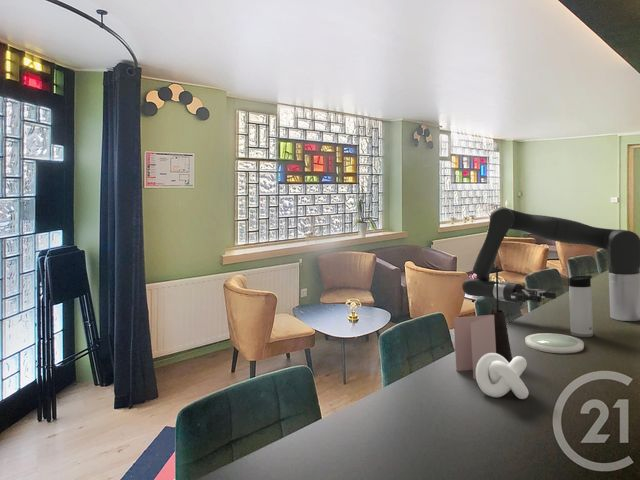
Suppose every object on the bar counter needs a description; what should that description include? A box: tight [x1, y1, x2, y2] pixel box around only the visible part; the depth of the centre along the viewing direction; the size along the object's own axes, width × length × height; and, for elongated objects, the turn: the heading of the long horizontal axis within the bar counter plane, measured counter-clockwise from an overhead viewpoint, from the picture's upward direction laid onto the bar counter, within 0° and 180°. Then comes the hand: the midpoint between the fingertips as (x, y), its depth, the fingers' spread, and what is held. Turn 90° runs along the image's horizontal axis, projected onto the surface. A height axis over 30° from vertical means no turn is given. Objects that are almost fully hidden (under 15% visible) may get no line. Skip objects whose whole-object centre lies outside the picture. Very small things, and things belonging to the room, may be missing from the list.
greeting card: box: [453, 314, 496, 380], centre depth 108 cm, size 11×7×15 cm, turn 92°
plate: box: [524, 332, 585, 354], centre depth 126 cm, size 16×16×2 cm
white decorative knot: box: [475, 353, 529, 400], centre depth 94 cm, size 11×12×9 cm
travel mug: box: [568, 274, 594, 338], centre depth 134 cm, size 6×7×20 cm
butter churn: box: [489, 265, 513, 363], centre depth 117 cm, size 9×10×28 cm
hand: (548, 297), depth 143 cm, fingers open, 8 cm apart
